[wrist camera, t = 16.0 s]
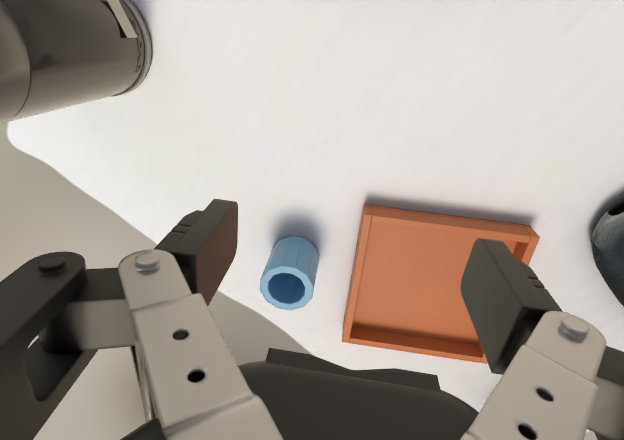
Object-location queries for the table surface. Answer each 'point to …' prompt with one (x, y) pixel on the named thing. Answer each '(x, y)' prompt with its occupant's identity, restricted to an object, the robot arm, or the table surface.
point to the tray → (420, 280)
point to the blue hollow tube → (290, 273)
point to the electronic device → (611, 248)
